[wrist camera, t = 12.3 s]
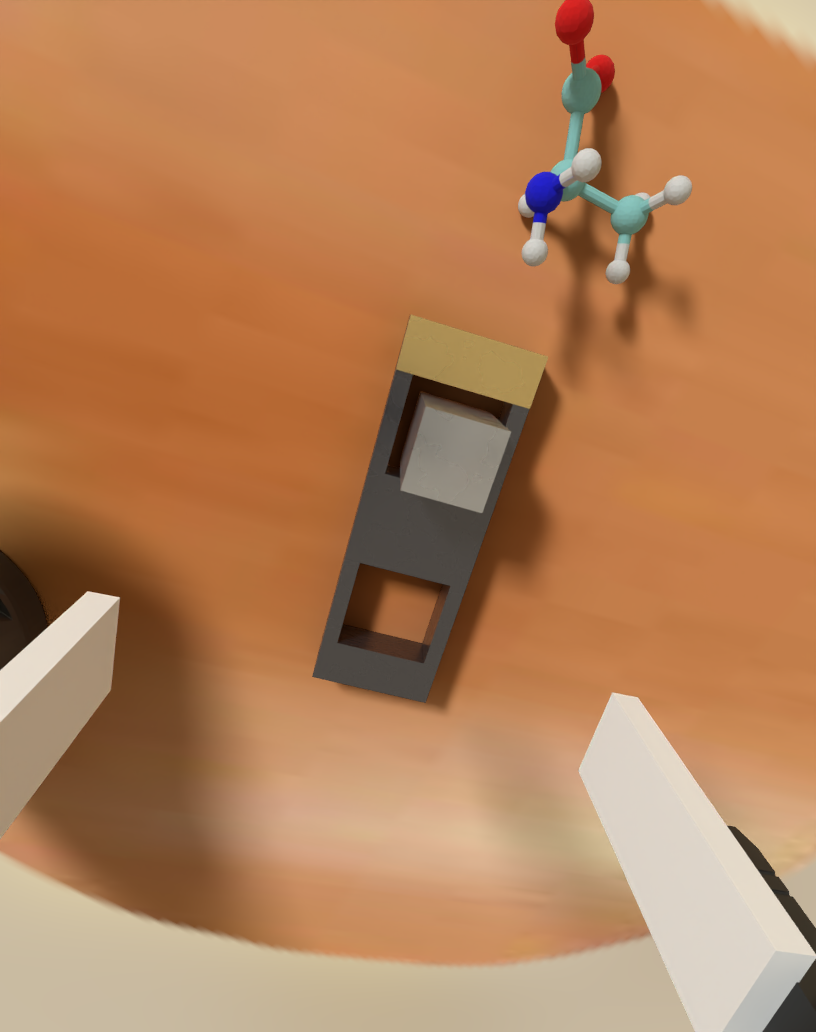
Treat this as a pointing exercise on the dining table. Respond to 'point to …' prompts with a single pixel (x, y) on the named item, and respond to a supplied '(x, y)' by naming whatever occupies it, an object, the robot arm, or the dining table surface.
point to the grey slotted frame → (422, 512)
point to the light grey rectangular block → (452, 452)
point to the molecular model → (587, 154)
